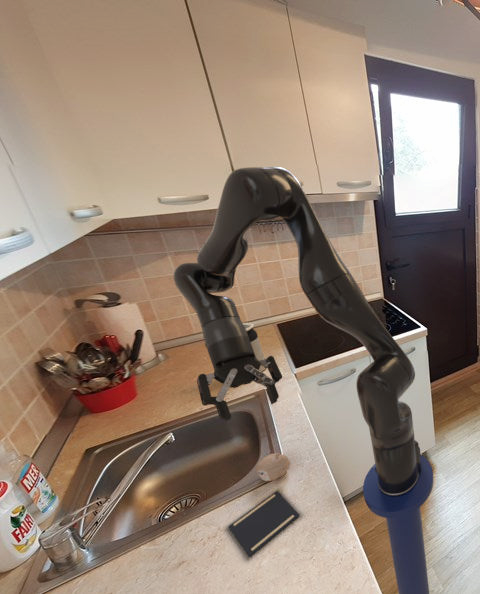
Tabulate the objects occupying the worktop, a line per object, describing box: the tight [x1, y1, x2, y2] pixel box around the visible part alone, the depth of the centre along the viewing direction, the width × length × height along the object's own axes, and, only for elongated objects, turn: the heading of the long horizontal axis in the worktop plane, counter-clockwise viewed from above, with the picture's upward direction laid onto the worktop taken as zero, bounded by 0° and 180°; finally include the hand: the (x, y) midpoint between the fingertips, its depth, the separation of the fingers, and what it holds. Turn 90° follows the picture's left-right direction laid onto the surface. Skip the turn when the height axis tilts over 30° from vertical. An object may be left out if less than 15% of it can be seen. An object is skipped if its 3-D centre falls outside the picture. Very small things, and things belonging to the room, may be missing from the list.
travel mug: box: [242, 322, 267, 373], centre depth 119 cm, size 8×8×18 cm
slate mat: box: [228, 490, 300, 558], centre depth 71 cm, size 10×10×1 cm
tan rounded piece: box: [255, 452, 291, 482], centre depth 80 cm, size 7×6×8 cm
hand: (252, 410), depth 69 cm, fingers open, 8 cm apart
